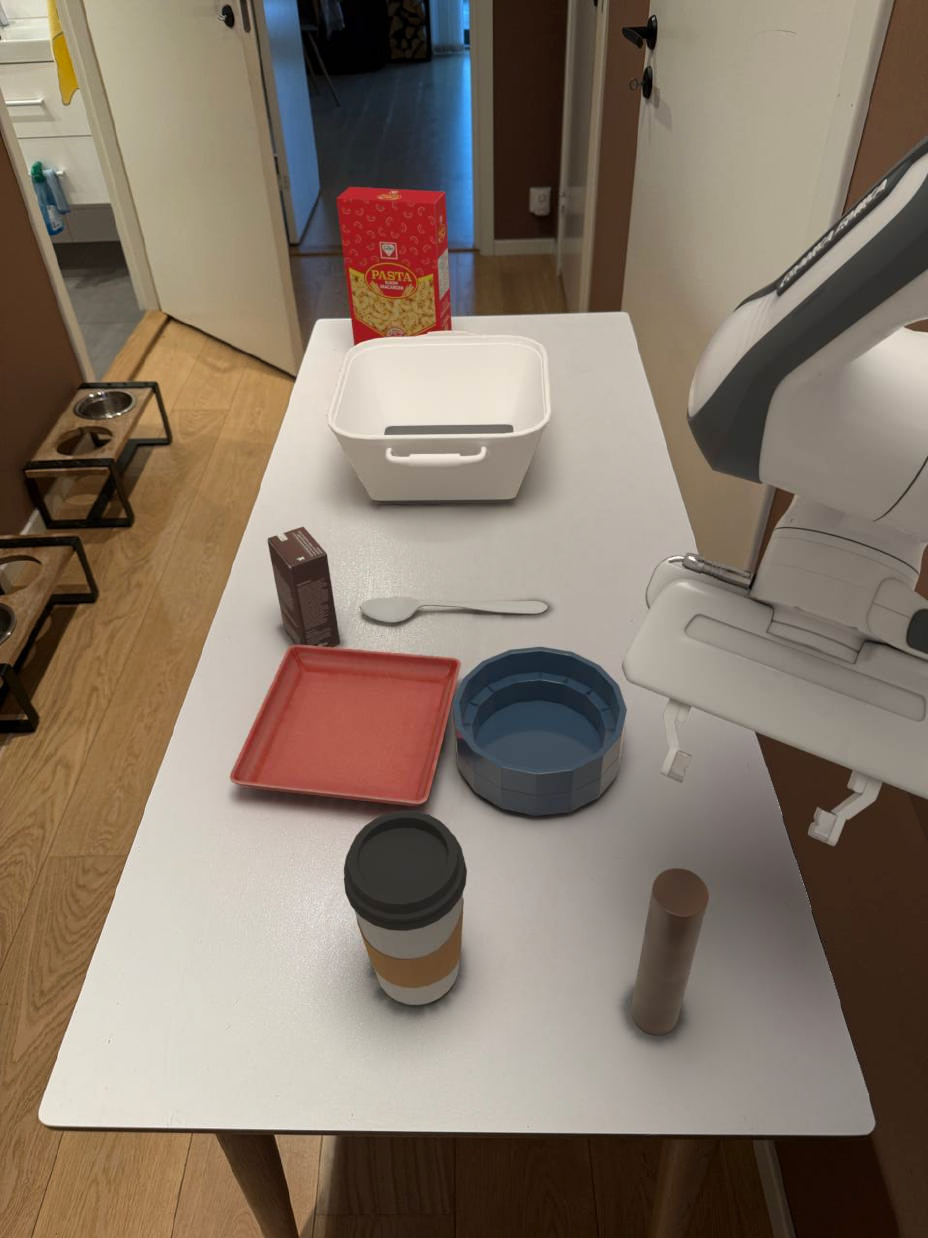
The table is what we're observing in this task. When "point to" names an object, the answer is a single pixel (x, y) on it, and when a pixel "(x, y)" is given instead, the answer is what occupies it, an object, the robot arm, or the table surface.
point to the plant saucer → (350, 725)
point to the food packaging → (395, 261)
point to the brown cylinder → (668, 949)
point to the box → (304, 588)
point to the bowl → (539, 730)
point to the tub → (442, 415)
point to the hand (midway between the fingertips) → (744, 808)
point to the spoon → (405, 606)
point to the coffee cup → (408, 902)
